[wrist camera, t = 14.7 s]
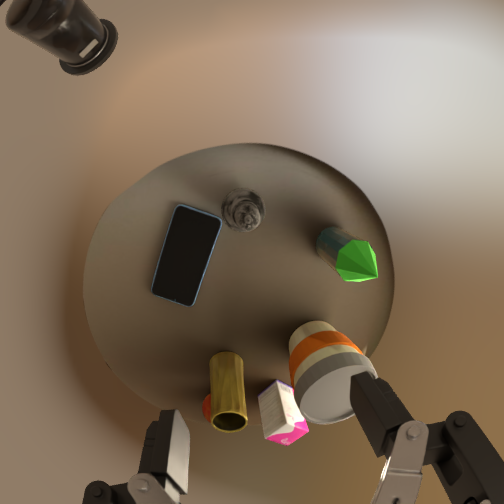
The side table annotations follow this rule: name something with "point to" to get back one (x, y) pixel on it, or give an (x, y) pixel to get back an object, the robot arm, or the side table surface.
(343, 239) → the teal cup
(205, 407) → the fruit
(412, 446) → the robot arm
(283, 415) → the supplement box
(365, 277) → the gemstone
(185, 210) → the smartphone
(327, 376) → the reusable coffee cup
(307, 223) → the side table surface
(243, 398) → the vase
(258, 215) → the chess piece
